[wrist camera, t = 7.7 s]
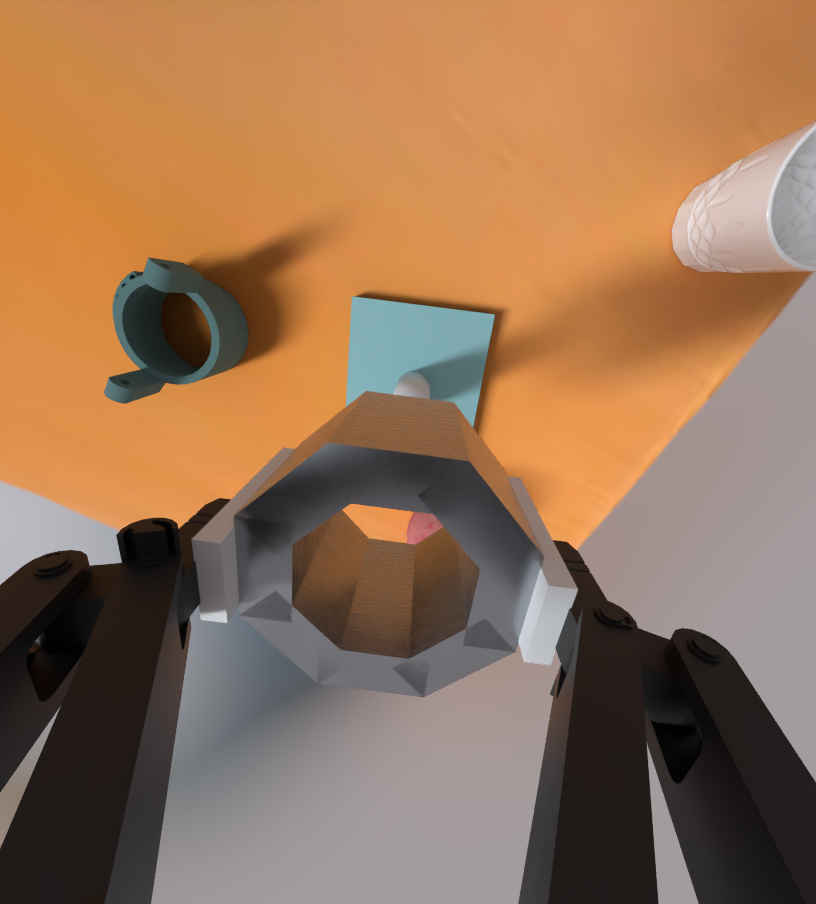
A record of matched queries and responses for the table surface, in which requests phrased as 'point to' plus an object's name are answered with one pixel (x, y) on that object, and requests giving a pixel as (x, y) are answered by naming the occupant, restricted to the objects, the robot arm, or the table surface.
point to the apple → (421, 527)
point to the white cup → (754, 212)
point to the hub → (388, 551)
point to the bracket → (145, 335)
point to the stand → (418, 352)
